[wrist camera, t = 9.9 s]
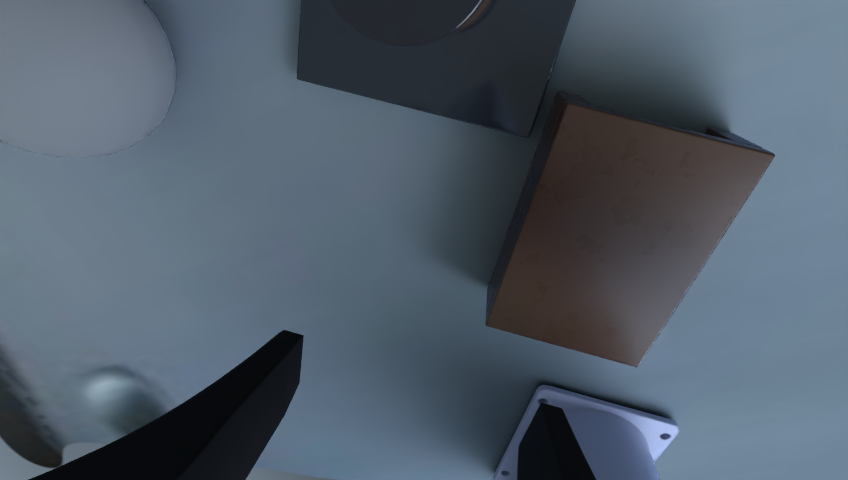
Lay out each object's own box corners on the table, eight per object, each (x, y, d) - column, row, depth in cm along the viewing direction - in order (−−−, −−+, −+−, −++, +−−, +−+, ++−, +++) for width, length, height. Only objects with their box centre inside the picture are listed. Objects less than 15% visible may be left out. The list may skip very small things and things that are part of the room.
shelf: (621, 325, 21) (638, 368, 19) (486, 288, 21) (484, 326, 19) (733, 133, 16) (777, 154, 14) (557, 89, 17) (567, 102, 14)
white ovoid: (177, -64, 16) (-33, -117, 10) (234, 128, 20) (105, 181, 13) (-24, -30, 18) (-309, -57, 12) (60, 140, 21) (-127, 191, 15)
